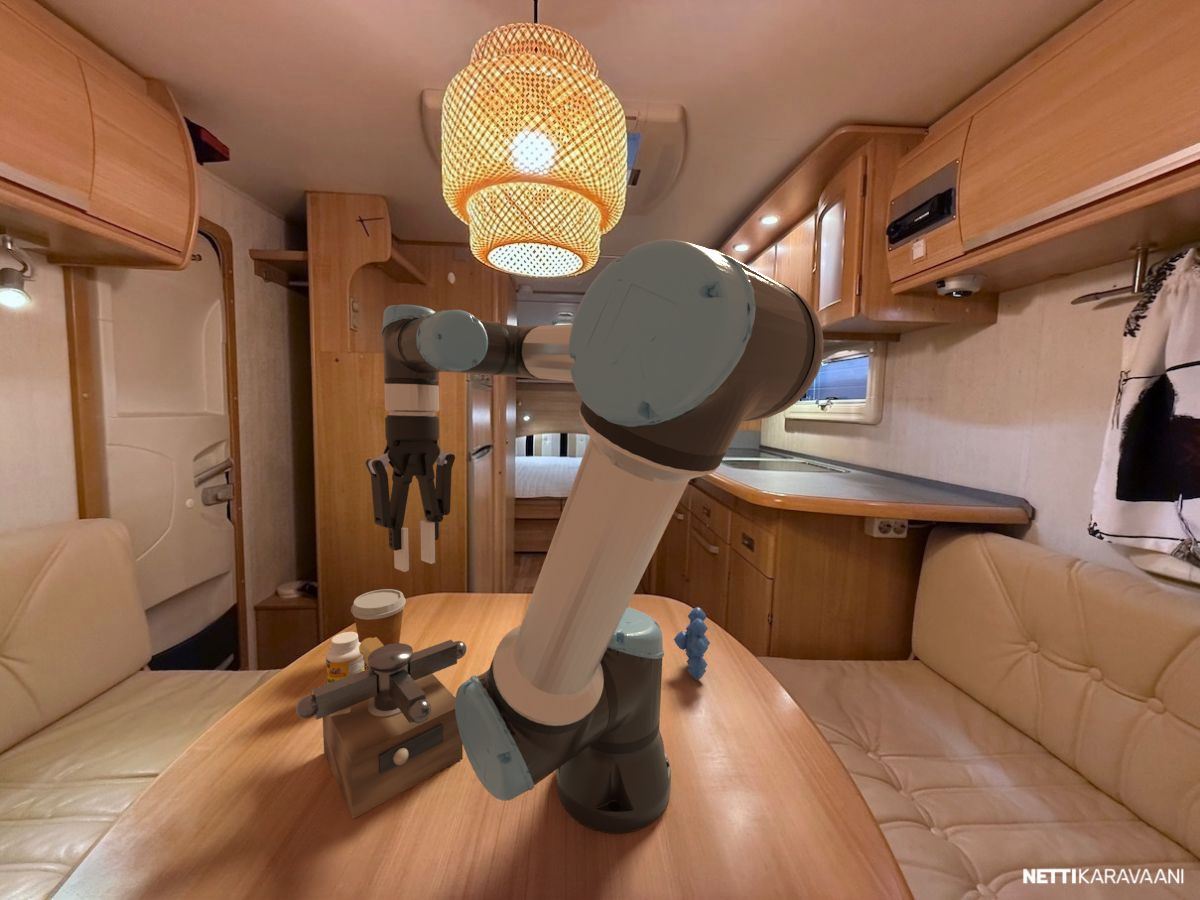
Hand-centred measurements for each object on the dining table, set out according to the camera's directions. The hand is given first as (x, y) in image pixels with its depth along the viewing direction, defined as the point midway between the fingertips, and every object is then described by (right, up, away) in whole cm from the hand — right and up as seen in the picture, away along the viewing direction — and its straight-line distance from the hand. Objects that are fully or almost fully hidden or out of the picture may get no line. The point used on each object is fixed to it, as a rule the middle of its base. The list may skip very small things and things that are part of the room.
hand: (415, 564), depth 70 cm
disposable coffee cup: (-14, -23, +18) cm, 32 cm away
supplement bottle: (-14, -24, +7) cm, 29 cm away
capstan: (0, -17, -7) cm, 18 cm away
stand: (-1, -25, -6) cm, 26 cm away
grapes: (+46, -24, +16) cm, 54 cm away
